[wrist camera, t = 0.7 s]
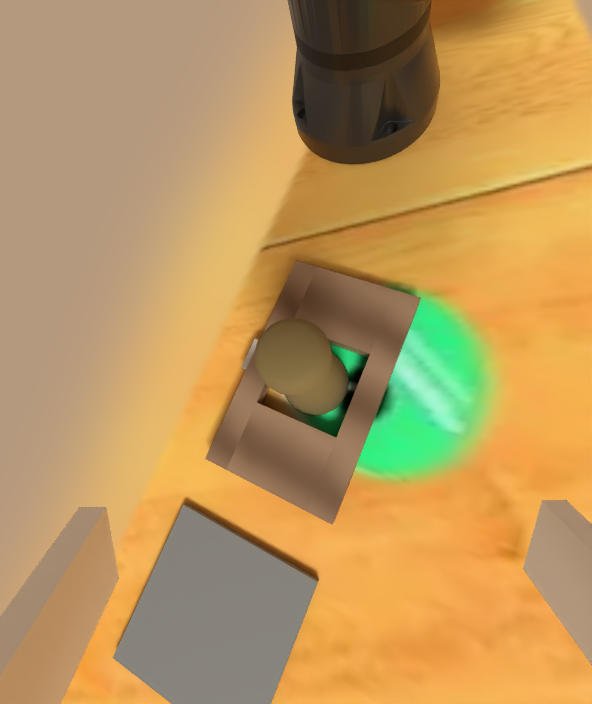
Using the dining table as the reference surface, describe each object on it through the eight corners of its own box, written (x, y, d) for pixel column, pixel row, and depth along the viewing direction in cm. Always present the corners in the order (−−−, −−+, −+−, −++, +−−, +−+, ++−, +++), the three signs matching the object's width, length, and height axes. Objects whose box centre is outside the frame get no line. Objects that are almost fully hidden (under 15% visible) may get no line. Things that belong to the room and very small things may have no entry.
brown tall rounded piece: (270, 389, 34) (223, 360, 24) (309, 337, 35) (280, 288, 24) (321, 429, 32) (294, 417, 22) (362, 374, 33) (355, 337, 22)
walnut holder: (294, 266, 37) (290, 258, 35) (418, 304, 33) (420, 297, 32) (207, 455, 34) (199, 455, 32) (334, 520, 30) (332, 524, 29)
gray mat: (186, 503, 33) (183, 504, 32) (318, 579, 29) (317, 581, 29) (117, 654, 31) (112, 657, 30) (250, 756, 27) (247, 763, 27)
